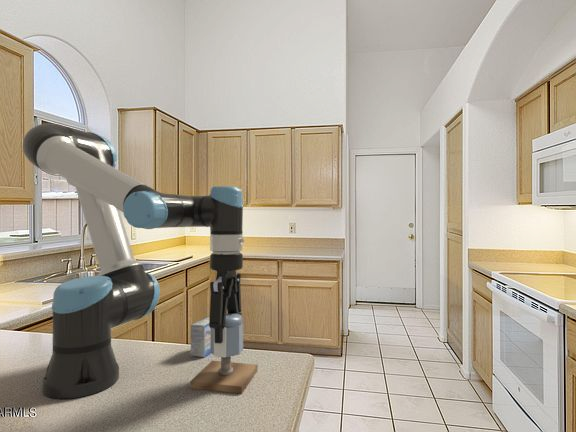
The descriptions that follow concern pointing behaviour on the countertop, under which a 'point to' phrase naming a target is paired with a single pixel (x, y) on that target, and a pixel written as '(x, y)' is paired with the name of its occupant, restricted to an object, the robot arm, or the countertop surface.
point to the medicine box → (200, 338)
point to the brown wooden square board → (224, 376)
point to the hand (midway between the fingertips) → (226, 350)
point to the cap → (231, 335)
